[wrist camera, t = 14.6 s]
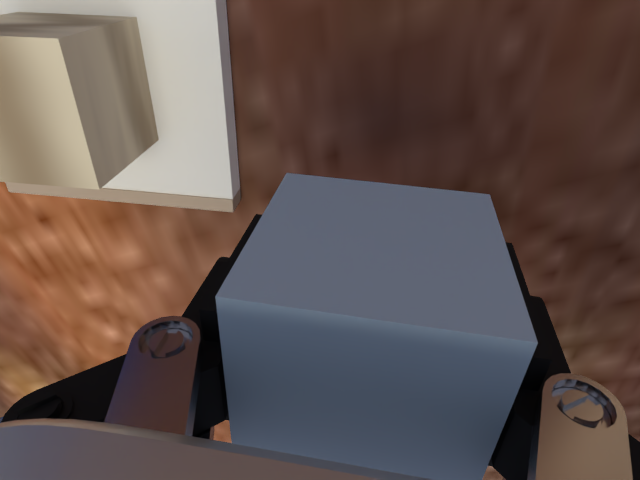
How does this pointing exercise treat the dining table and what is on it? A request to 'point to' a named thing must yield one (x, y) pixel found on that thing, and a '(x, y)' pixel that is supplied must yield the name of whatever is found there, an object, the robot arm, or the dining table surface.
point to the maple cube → (72, 98)
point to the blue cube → (374, 328)
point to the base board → (170, 105)
